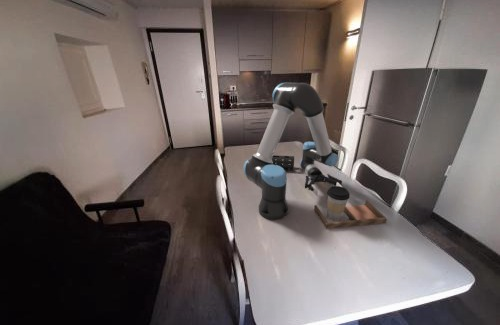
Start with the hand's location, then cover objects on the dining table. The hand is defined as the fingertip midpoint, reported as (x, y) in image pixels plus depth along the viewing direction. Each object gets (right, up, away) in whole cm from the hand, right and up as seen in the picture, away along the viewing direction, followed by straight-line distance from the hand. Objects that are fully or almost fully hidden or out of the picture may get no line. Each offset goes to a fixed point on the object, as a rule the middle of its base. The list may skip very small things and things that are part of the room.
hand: (330, 192), depth 98 cm
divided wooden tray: (+7, -11, -3) cm, 13 cm away
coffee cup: (0, -12, -3) cm, 12 cm away
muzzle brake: (-22, +10, +47) cm, 53 cm away
